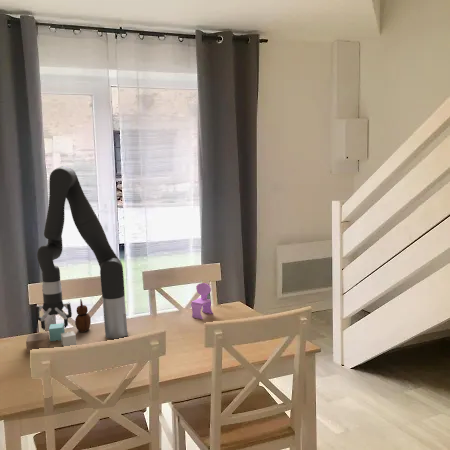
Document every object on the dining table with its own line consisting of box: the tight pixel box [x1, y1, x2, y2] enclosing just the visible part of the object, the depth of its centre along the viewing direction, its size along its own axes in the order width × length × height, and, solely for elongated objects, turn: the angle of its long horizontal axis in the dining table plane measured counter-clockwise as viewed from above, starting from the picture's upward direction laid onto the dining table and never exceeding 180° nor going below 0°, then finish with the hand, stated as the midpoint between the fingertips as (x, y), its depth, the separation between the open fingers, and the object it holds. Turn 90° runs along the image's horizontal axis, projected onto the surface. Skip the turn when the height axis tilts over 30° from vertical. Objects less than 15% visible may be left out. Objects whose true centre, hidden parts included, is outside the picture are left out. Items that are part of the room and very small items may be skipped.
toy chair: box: [190, 282, 214, 320], centre depth 242 cm, size 8×9×15 cm
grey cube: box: [60, 330, 78, 347], centre depth 213 cm, size 5×5×5 cm
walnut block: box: [25, 331, 51, 354], centre depth 211 cm, size 8×8×5 cm
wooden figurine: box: [74, 298, 92, 333], centre depth 228 cm, size 7×6×15 cm
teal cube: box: [48, 322, 66, 342], centre depth 221 cm, size 6×6×6 cm
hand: (54, 328), depth 220 cm, fingers open, 8 cm apart
